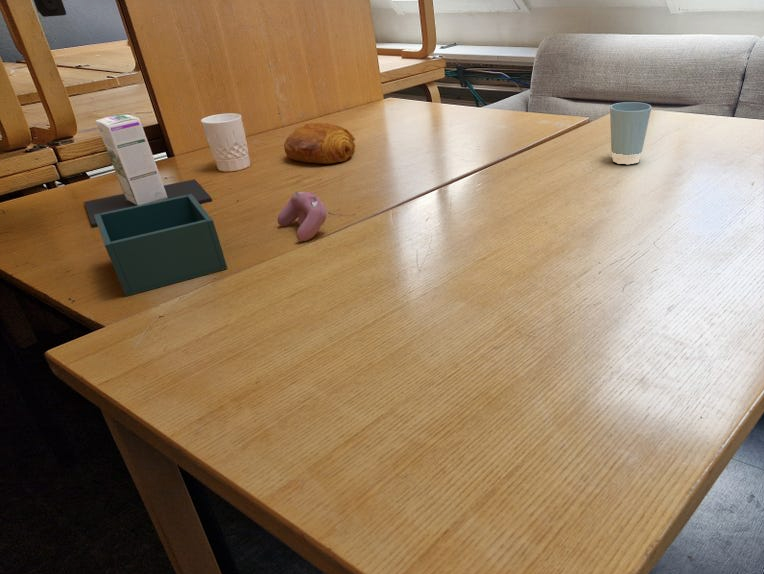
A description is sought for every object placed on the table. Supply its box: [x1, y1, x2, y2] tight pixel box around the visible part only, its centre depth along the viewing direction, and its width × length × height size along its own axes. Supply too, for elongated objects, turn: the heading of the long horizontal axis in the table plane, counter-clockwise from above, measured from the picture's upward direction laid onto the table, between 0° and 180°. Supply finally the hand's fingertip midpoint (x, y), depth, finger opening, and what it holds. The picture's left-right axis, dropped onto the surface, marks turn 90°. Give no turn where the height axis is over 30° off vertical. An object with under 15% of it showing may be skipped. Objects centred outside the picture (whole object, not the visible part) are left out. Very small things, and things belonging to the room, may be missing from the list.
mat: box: [83, 178, 213, 228], centre depth 114 cm, size 20×14×1 cm
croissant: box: [283, 122, 356, 165], centre depth 133 cm, size 14×16×8 cm
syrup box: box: [95, 113, 168, 205], centre depth 110 cm, size 6×6×14 cm
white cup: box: [200, 113, 252, 173], centre depth 128 cm, size 8×8×10 cm
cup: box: [609, 101, 652, 155], centre depth 120 cm, size 8×8×10 cm
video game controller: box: [277, 190, 328, 243], centre depth 99 cm, size 10×5×7 cm, turn 35°
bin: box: [94, 194, 228, 297], centre depth 89 cm, size 14×14×8 cm
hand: (52, 14), depth 92 cm, fingers open, 9 cm apart
